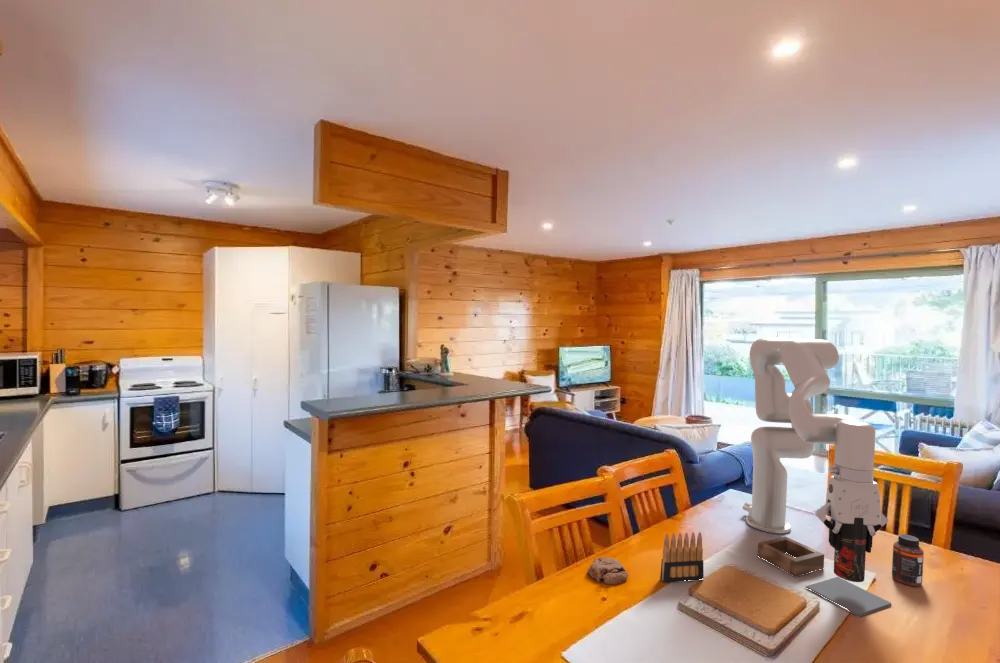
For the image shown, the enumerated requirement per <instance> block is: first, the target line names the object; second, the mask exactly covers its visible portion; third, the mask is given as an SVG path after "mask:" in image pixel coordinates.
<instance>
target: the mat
mask: <svg viewBox="0 0 1000 663" xmlns="http://www.w3.org/2000/svg"><path fill="white" fill-rule="evenodd" d="M806 588H808V589H811V590H812V591H814V592H816V593H818V594H820V595H822V596H823V597H825V598H827V599H829V600H831V601H833V602H835V603H837V604H839V605H841V606H843V607H845V608H847V609H848V610H849V611H850V612H851V613H850V612H849V613H850V614H852V615H854V616H856V617H858V618H859V617H863V616H866V615H868V614H871V613H874V612H878V611H881V610H882V609H886V608H888V607H890V606H892V602H891V601H888V600H886V599H884V598H882V597H880V596H878V595H875V594H874V593H872V592H870V591H867V590H866V589H863V588H861V587H860V586H858V585H855V584H854V583H851V582H850V581H848V580H845V579H842V578H840V577H838V576H836V577H833V578H829V579H825V580H822V581H818V582H815V583H812V584H808V585H806V586H805V589H806ZM808 589H807V590H808ZM812 591H811V592H812ZM823 597H822V598H823Z"/></svg>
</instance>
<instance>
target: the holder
mask: <svg viewBox="0 0 1000 663" xmlns="http://www.w3.org/2000/svg"><path fill="white" fill-rule="evenodd" d="M786 552H787V553H788V554H790V555H792V556H794V557H796V558H794V557H792V556H790V555H788V554H785V553H786ZM757 556H759V557H760V558H763V559H765V560H767V561H768V562H770V563H772V564H774V565H775V566H777V567H779V568H781V569H783V570H784V571H783V570H782V571H783V572H785V571H786V572H785V573H787V572H788V573H789V575H790V574H791V575H790V576H792V575H793V576H792V577H794V576H795V577H794V578H797V577H796V576H798V577H801V576H803V575H802V574H805V575H807V574H806V573H808V574H810V573H809V572H811V571H815V570H819V569H823V568H824V567H825V554H824V553H822V552H821V551H818V550H816V549H813V548H811V547H809V546H807V545H805V544H803V543H801V542H799V541H796V540H794V539H792V538H790V537H787V536H781V537H777V538H776V537H775V538H773V539H768V540H764V541H761V542H758V543H757ZM757 556H756V557H757ZM760 558H759V559H760ZM768 562H767V563H768ZM770 563H769V564H770ZM772 564H771V565H772ZM775 566H774V567H775ZM777 567H776V568H777ZM779 568H778V569H779ZM781 569H780V570H781ZM824 569H825V568H824ZM824 569H823V570H824ZM819 571H820V570H819ZM788 573H787V574H788ZM800 575H801V576H800Z"/></svg>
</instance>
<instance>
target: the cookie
mask: <svg viewBox="0 0 1000 663" xmlns="http://www.w3.org/2000/svg"><path fill="white" fill-rule="evenodd" d="M592 562H593V563H592V564H590V565H589V567H588V568H587V573H588V574H589V576H590V578H592V579H593V580H595V581H596V582H597V583H602V584H605V585H611V586H614V585H615V586H616V585H618V584H621V583H624V582H626V581H627V580H628V577H629V573H628V572H627V571H626V569H625V566H624V565H623V564H622V563H621V561H620V560H618V559H616V558H612V557H597V558H594V559H593V561H592Z"/></svg>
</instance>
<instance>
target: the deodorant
mask: <svg viewBox="0 0 1000 663" xmlns="http://www.w3.org/2000/svg"><path fill="white" fill-rule="evenodd" d="M863 519H864V518H854V524H842V525H841V527H840V529H839V532H838V533H840V534H841V544H840V550H836V549H834V555H833V556H834V557H833V573H834V574H835V576H836V577H839V578H841V579H843V580H845V581H847V582H852V583H862V582H864V581H865V573H866V572H865V571H866V553H867V552H866V534H867V525H863Z"/></svg>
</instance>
